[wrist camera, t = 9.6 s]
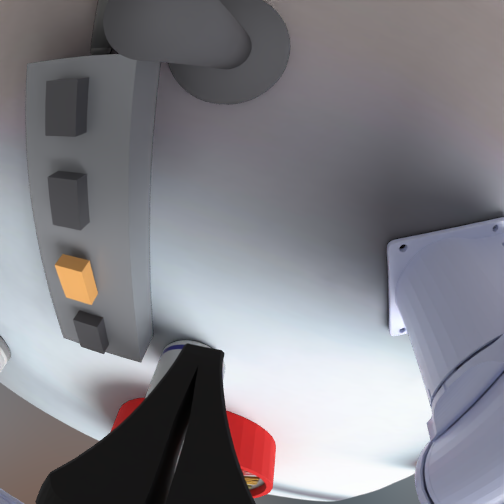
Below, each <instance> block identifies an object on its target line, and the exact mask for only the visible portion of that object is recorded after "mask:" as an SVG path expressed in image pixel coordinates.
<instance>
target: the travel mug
mask: <svg viewBox="0 0 504 504" xmlns="http://www.w3.org/2000/svg"><path fill="white" fill-rule="evenodd" d="M10 357H11V353H10V350H9V348H8V346H7V344H6V343H5V341H4V340H3V339H2V338H1V336H0V372H1V371H2V369H3V368H4V366H5V364H6V363H7V362H8V360H9V359H10Z"/></svg>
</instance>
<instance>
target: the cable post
mask: <svg viewBox="0 0 504 504" xmlns="http://www.w3.org/2000/svg"><path fill="white" fill-rule="evenodd" d="M103 26H104V32H105V35H106V38H107V40H108V42H109V44H110V45H111V46H112V48H113V49H114V50H115V51H117V52H118V53H119V54H121V55H122V56H124V57H126V58H129V59H133V60H138V61H153V62H166V63H169V67H170V70H171V72H172V74H173V76H174V78H175V79H176V81H177V82H178V83H179V84H180V85H181V86H182V87H183V88H184V89H185V90H186V91H187V92H188V93H190V94H191V95H193V96H195V97H196V98H198V99H201V100H203V101H206V102H210V103H215V104H237V103H242V102H245V101H248V100H251V99H253V98H256V97H258V96H260V95H261V94H263V93H264V92H266V91H267V90H268V89H270V88H271V87H272V86H273V85H274V84H275V83H276V82H277V81H278V80H279V78H280V77H281V75H282V74H283V72H284V70H285V68H286V65H287V63H288V59H289V54H290V38H289V34H288V30H287V28H286V25H285V23H284V21H283V20H282V18H281V17H280V15H279V14H278V13H277V12H276V11H275V10H274V9H273V8H272V7H271V6H270V5H268V4H267V3H266V2H264V1H262V0H108V2H107V5H106V8H105V12H104V18H103Z"/></svg>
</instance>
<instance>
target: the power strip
mask: <svg viewBox="0 0 504 504" xmlns="http://www.w3.org/2000/svg"><path fill="white" fill-rule="evenodd" d="M107 2H108V0H98V4H97V9H96V15H95V21H94V27H93V34H92V41H91V49H90V51H91V54H92V56H81V57H71V58H62V59H55V60H47V61H41V62H35V63H29V64H27V77H26V102H25V124H26V151H27V165H28V176H29V186H30V194H31V202H32V209H33V216H34V222H35V228H36V234H37V239H38V244H39V249H40V254H41V258H42V263H43V267H44V271H45V276H46V280H47V284H48V287H49V291H50V295H51V298H52V302H53V305H54V309H55V312H56V315H57V319H58V322H59V325H60V328H61V331H62V334H63V337H64V338H66V339H69V340H72V341H74V342H77V343H80V345H81V347H84V348H87V349H90V350H93V351H96V352H99V353H102V354H104V353H105V352H107V353H110V354H114V355H117V356H120V357H124V358H127V359H131V360H134V361H138V362H142V359H143V357H144V355H145V352H146V350H147V348H148V346H149V343H150V341H151V339H152V336H153V324H152V308H151V286H150V182H151V161H152V144H153V131H154V119H155V108H156V98H157V89H158V80H159V72H160V64H161V62H153V61H138V60H133V59H129V58H126V57H124V56H122V55H121V54H109V53H110V51H111V48H112V46H111V45H110V44H109V42H108V40H107V38H106V35H105V32H104V26H103V18H104V12H105V8H106V5H107ZM108 54H109V55H108ZM62 254H65V255H69V256H73V257H77V258H81V259H85V260H89V261H90V264H91V269H92V272H93V276H94V280H95V284H96V288H97V291H98V295H97V296H96V298H95V300H94V302H93V303H92V305H90V304H86V303H83V302H80V301H76V300H73V299H70V298H67V297H66V296H65V293H64V290H63V288H62V285H61V282H60V279H59V276H58V274H57V271H56V268H55V264H56V262H57V261H58V260H59V258H60V257H61V256H62Z"/></svg>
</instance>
